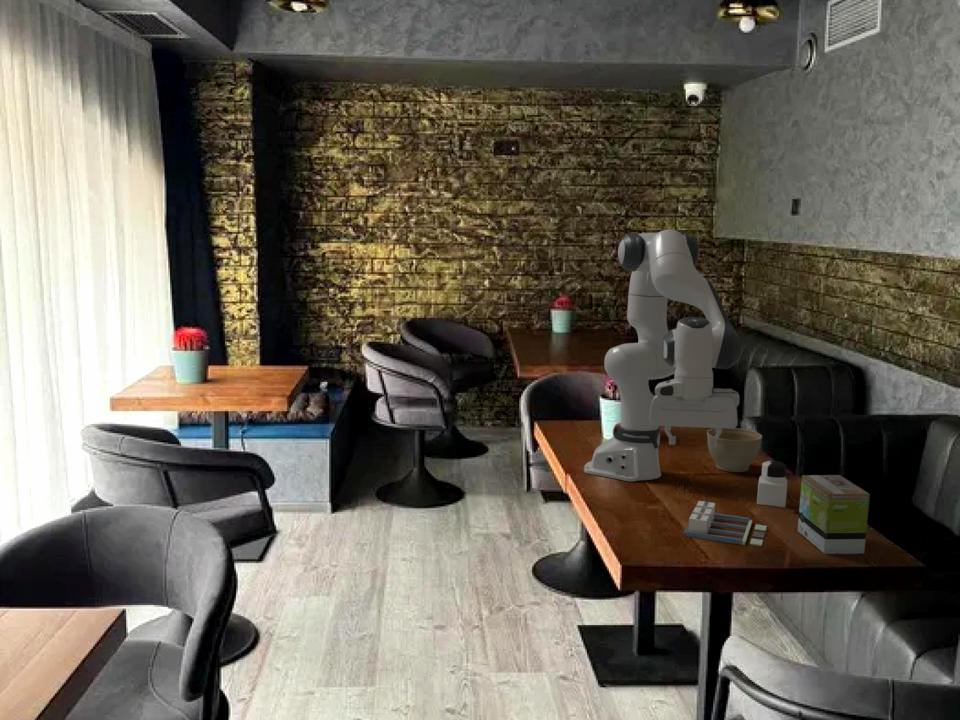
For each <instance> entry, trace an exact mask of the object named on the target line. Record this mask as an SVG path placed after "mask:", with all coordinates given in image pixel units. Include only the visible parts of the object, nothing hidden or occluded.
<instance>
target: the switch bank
mask: <svg viewBox="0 0 960 720" xmlns="http://www.w3.org/2000/svg"><path fill="white" fill-rule="evenodd" d="M715 519H717V520H723V521H729V522H736V523H737V522H738V523H742V524H743V523H745V524H747V525H746V526H745V525H741V524H733V523H727V522H721V521H720V522H719V521H714V520H715ZM714 520H713V521H711V526H716V527H723V528H727V529H728V528H729V529H736V530H743V531H745V532H739V531H730V530H723V529H719V528H711V527H710V528H708V533H707V534H705V533H699V532H692V531H688V528H689V522H687V525H686V527H685V529H684V530H683V532H682V536H683V537H688V538H694V539H700V540H701V539H702V540H708V541H715V542H719V543H720V542H722V543H727V544H735V545H740V546H745V545H746V543H747V540H748V537H749V535H750V530H751V528H752V524H753V520H752V519H750V517H745V516H744V517H742V516H739V515H738V516H737V515H730V514H724V513H716V512H715V513H714ZM767 528H768V525H763V524H755V526H754V529H753V533H752V535H751V536H752V537H751V539H750V542H749V545H752V546H759V547H762V546H763V542H764V540H763V539H765V534H766V533H765V532H766V531H767ZM710 533H712V534H710ZM713 533H714V534H713ZM716 534H717V535H716ZM718 534H720V535H718ZM724 535H726V536H724ZM736 537H737V538H736ZM738 537H740V538H738Z"/></svg>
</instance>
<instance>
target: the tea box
mask: <svg viewBox="0 0 960 720" xmlns="http://www.w3.org/2000/svg"><path fill="white" fill-rule="evenodd" d="M870 495H871V494H870V493H868V492H867V491H866V490H864V489H863V488H861V487H860V486H858V485H856V484H854V483H853V482H851V481H850V480H848V479H847V478H845V477H843V476H842V475H840V474H820V475H819V474H818V475H817V474H811V475H807V474H806V475H803V474H802V475H801V482H800V495H799V496H800V497H799V508H798V509H799V510H798V519H797V520H798V521H797V533H800V534H801V535H802V536H803V537H804V538H806V540H808V541H809V542H810V543H811V544H813V546H815V547H816V548H817V549H818V550H819V551H820V552H822V554H824V555H858V554H859V555H860V554H861V555H862V554H864V553H865V548H866V538H867V537H866V536H867V527H868V518H869V517H868V516H869V507H870ZM837 553H838V554H837Z"/></svg>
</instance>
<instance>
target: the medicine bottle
mask: <svg viewBox="0 0 960 720" xmlns="http://www.w3.org/2000/svg"><path fill="white" fill-rule="evenodd" d="M786 477H787V465H786V464H785V463H784V462H781V461H777V460H765V461H764V462H763V463H762V464H761V475H760V476H759V478H758V484H757V495H756V496H757V497H756V504H757V505H761V506H763V505H764V506H770V507H779V508H786V506H787V505H786V503H787V491H788V479H787V478H786Z"/></svg>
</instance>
